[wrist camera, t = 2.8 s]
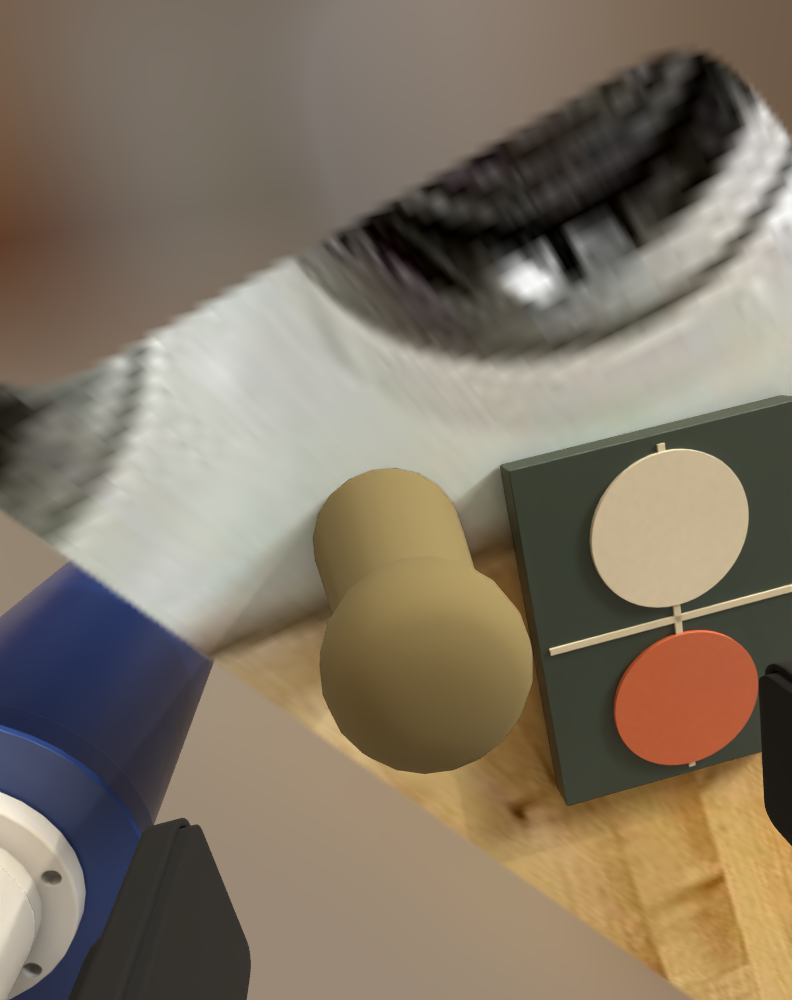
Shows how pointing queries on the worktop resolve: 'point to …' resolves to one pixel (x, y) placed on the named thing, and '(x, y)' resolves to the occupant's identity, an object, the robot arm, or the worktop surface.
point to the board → (656, 592)
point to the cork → (414, 628)
